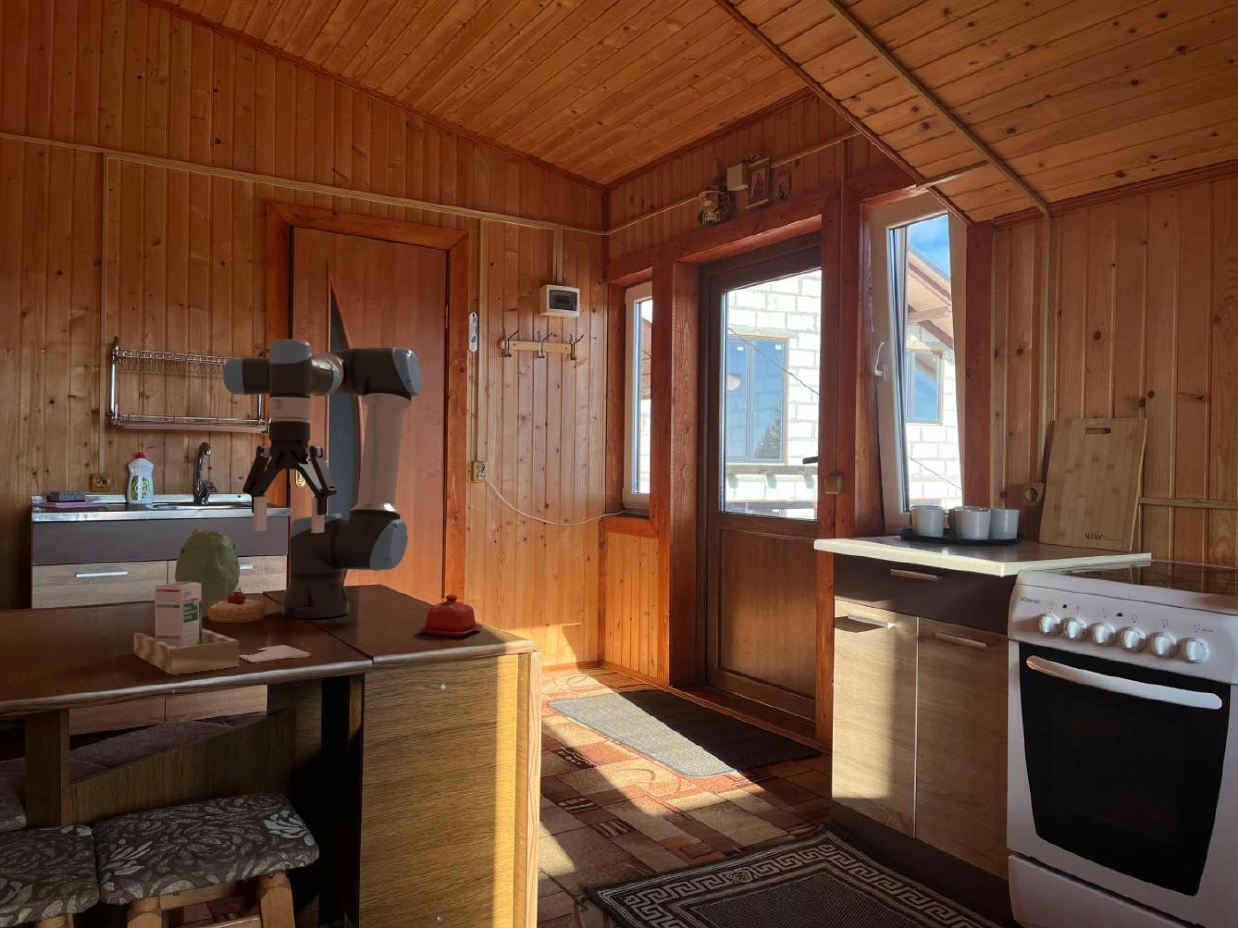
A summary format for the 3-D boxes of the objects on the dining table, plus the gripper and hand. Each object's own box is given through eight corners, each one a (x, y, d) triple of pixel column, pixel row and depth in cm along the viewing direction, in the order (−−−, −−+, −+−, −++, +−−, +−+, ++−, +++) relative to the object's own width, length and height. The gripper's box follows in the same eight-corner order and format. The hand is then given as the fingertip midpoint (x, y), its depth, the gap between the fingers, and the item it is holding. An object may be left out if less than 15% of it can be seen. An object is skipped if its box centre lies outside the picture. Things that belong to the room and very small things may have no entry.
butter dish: (486, 630, 210) (486, 592, 210) (463, 639, 199) (463, 599, 199) (439, 627, 213) (439, 589, 213) (414, 636, 202) (414, 596, 202)
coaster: (228, 656, 179) (228, 652, 179) (284, 648, 186) (284, 644, 186) (252, 665, 171) (252, 661, 171) (309, 657, 178) (309, 653, 178)
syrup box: (182, 665, 170) (183, 585, 170) (153, 664, 172) (154, 584, 172) (202, 659, 176) (203, 581, 176) (174, 657, 177) (175, 580, 177)
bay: (133, 660, 175) (134, 633, 175) (197, 652, 183) (197, 626, 183) (172, 678, 160) (172, 649, 160) (239, 668, 168) (239, 640, 168)
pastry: (251, 620, 220) (251, 582, 220) (274, 626, 212) (274, 587, 212) (198, 626, 212) (199, 587, 212) (221, 633, 203) (221, 592, 203)
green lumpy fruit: (184, 615, 226) (184, 532, 226) (165, 605, 241) (165, 527, 241) (251, 609, 236) (251, 529, 236) (228, 600, 251) (229, 525, 251)
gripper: (223, 420, 182) (222, 530, 181) (331, 418, 173) (330, 534, 173) (251, 422, 189) (250, 528, 188) (356, 421, 180) (355, 532, 180)
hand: (288, 531), depth 180 cm, fingers open, 13 cm apart
